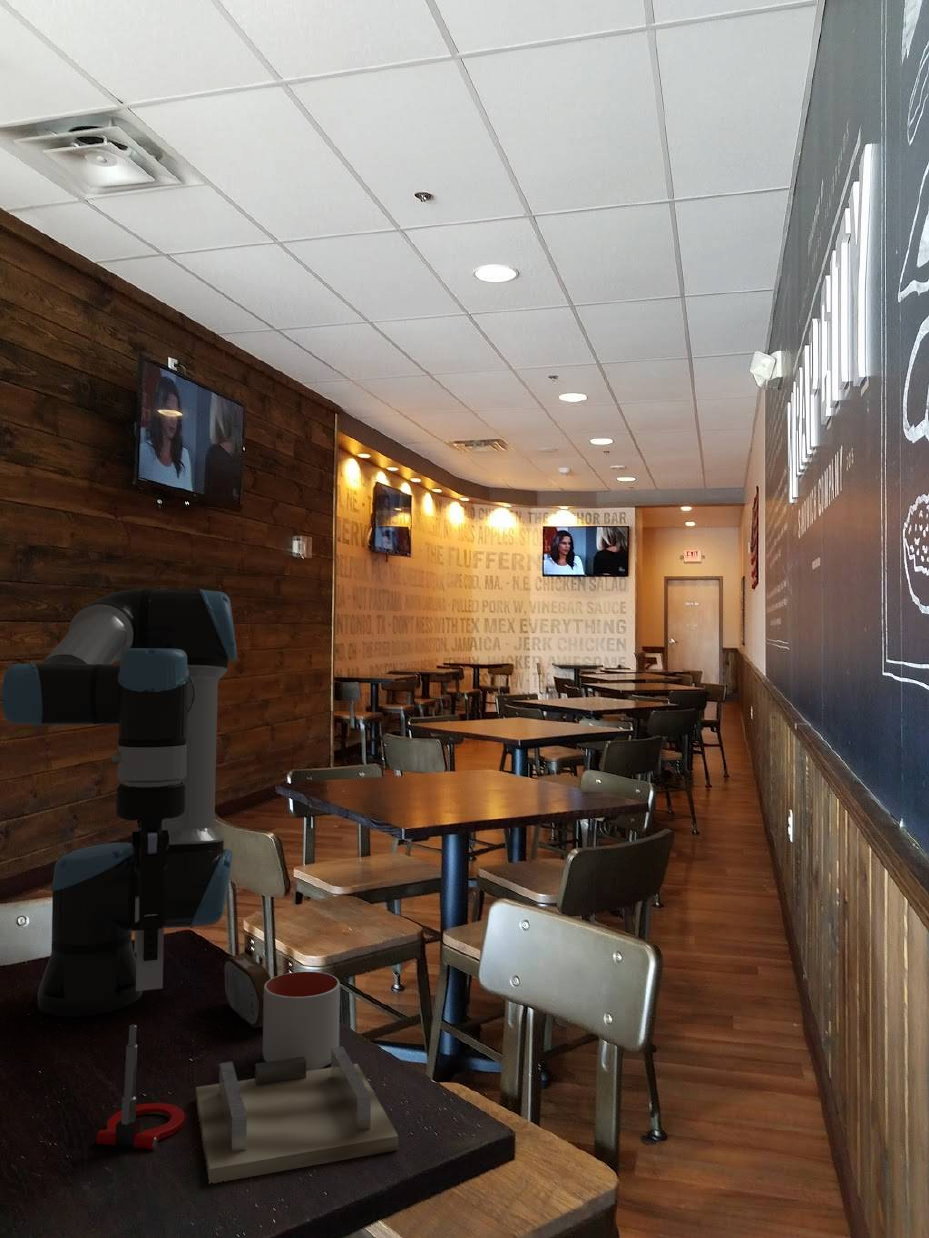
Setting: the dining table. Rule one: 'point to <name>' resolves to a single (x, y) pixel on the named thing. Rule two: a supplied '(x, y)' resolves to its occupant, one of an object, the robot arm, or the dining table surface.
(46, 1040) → the dining table surface
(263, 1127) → the keeper board
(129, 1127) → the tow hook
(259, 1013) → the tin
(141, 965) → the robot arm
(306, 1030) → the cup
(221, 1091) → the keeper rails
